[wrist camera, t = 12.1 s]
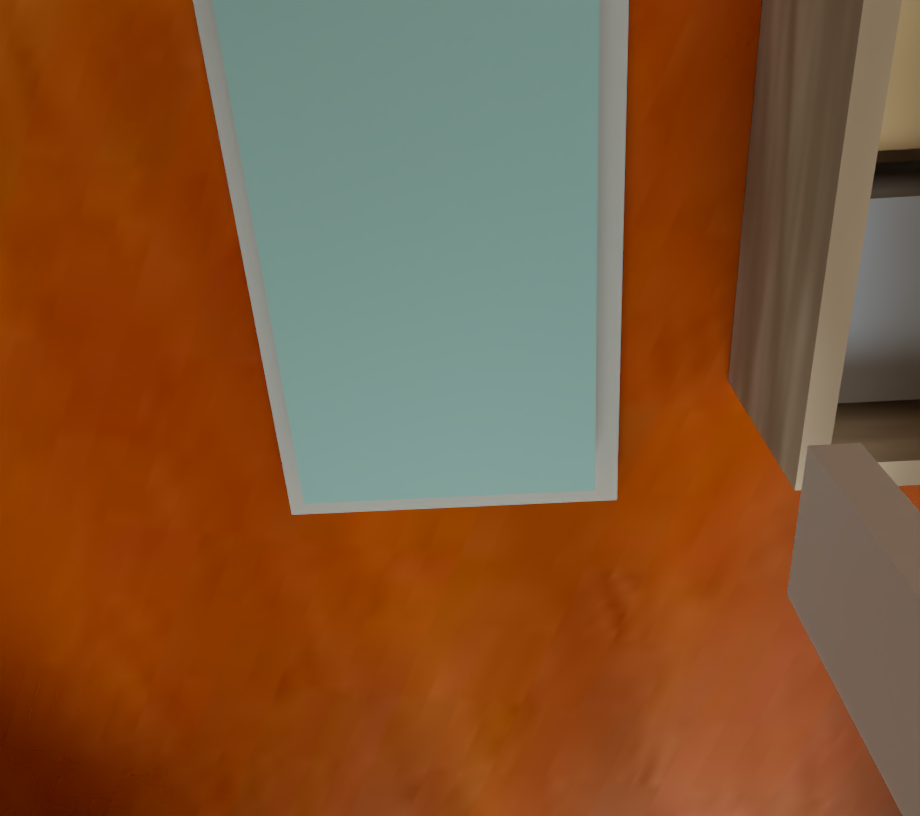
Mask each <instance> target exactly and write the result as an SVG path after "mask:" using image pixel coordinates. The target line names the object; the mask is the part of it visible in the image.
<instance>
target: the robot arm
mask: <svg viewBox="0 0 920 816" xmlns="http://www.w3.org/2000/svg"><path fill="white" fill-rule="evenodd" d="M787 596H788V597H789V599H790V601H791V603H792V605H793V607H794V609H795V611H796V613H797V615H798V617H799V619H800V620H801V622H802V624H803V626H804V628H805V630H806V632H807V634H808V636H809V638H810V640H811V642H812V643H813V645H814V647H815V649H816V651H817V653H818V655H819V657H820V659H821V661H822V663H823V665H824V666H825V668H826V670H827V672H828V674H829V676H830V678H831V680H832V682H833V684H834V686H835V688H836V689H837V691H838V693H839V695H840V697H841V699H842V701H843V703H844V705H845V707H846V709H847V711H848V712H849V714H850V716H851V718H852V720H853V722H854V724H855V726H856V728H857V730H858V732H859V734H860V735H861V737H862V739H863V741H864V743H865V745H866V747H867V749H868V751H869V753H870V755H871V757H872V758H873V760H874V762H875V764H876V766H877V768H878V770H879V772H880V774H881V776H882V778H883V780H884V781H885V783H886V785H887V787H888V789H889V791H890V793H891V795H892V797H893V799H894V801H895V803H896V804H897V806H898V808H899V810H900V812H901V814H902V816H920V511H919V510H918V509H917V508H916V507H915V506H914V504H913V503H912V502H911V501H910V500H909V499H908V497H907V496H906V495H905V494H904V493H903V492H902V490H901V489H900V488H899V487H898V486H897V485H896V483H895V482H894V481H893V480H892V479H891V478H890V476H889V475H888V474H887V473H886V472H885V471H884V469H883V468H882V467H881V466H880V465H879V463H878V462H877V461H876V460H875V459H874V458H873V456H872V455H871V454H870V453H869V452H868V451H867V449H866V448H865V447H864V446H863V445H862V444H861V443H847V444H828V445H809V446H807V454H806V461H805V468H804V475H803V482H802V490H801V497H800V504H799V511H798V518H797V526H796V533H795V540H794V547H793V555H792V562H791V569H790V576H789V583H788V591H787Z"/></svg>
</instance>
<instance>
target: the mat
mask: <svg viewBox="0 0 920 816" xmlns="http://www.w3.org/2000/svg"><path fill="white" fill-rule="evenodd" d="M193 4H194V9H195V15H196V20H197V25H198V30H199V35H200V41H201V46H202V51H203V56H204V61H205V66H206V72H207V77H208V82H209V87H210V92H211V98H212V103H213V108H214V113H215V118H216V124H217V129H218V134H219V139H220V144H221V150H222V155H223V160H224V165H225V170H226V175H227V181H228V186H229V191H230V196H231V201H232V207H233V212H234V217H235V222H236V227H237V233H238V238H239V243H240V248H241V253H242V259H243V264H244V269H245V274H246V279H247V285H248V290H249V295H250V300H251V305H252V310H253V316H254V321H255V326H256V331H257V336H258V342H259V347H260V352H261V357H262V362H263V368H264V373H265V378H266V383H267V388H268V394H269V399H270V404H271V409H272V414H273V419H274V425H275V430H276V435H277V440H278V445H279V451H280V456H281V461H282V466H283V471H284V477H285V482H286V487H287V492H288V497H289V503H290V508H291V513H292V515H298V514H320V513H342V512H363V511H385V510H407V509H429V508H451V507H473V506H495V505H517V504H539V503H561V502H583V501H604V500H617V477H618V435H619V394H620V352H621V310H622V269H623V227H624V185H625V144H626V102H627V61H628V19H629V0H600V4H599V111H598V218H597V325H596V432H595V490H590V491H568V492H547V493H525V494H503V495H482V496H460V497H439V498H417V499H395V500H374V501H352V502H331V503H309V504H304V500H303V495H302V489H301V484H300V478H299V473H298V468H297V462H296V457H295V451H294V446H293V440H292V435H291V429H290V424H289V418H288V413H287V407H286V402H285V397H284V391H283V386H282V380H281V375H280V369H279V364H278V358H277V353H276V347H275V342H274V337H273V331H272V326H271V320H270V315H269V309H268V304H267V298H266V293H265V287H264V282H263V276H262V271H261V266H260V260H259V255H258V249H257V244H256V238H255V233H254V227H253V222H252V216H251V211H250V205H249V200H248V195H247V189H246V184H245V178H244V173H243V167H242V162H241V156H240V151H239V145H238V140H237V135H236V129H235V124H234V118H233V113H232V107H231V102H230V96H229V91H228V85H227V80H226V74H225V69H224V64H223V58H222V53H221V47H220V42H219V36H218V31H217V25H216V20H215V14H214V9H213V3H212V0H193Z"/></svg>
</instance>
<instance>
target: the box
mask: <svg viewBox="0 0 920 816" xmlns="http://www.w3.org/2000/svg"><path fill="white" fill-rule="evenodd" d="M728 382H729V384H730V385H731V387H732V389H733V390H734V392H735V393H736V395H737V397H738V398H739V400H740V402H741V403H742V405H743V406H744V408H745V410H746V411H747V413H748V415H749V416H750V418H751V420H752V421H753V423H754V424H755V426H756V428H757V429H758V431H759V433H760V434H761V436H762V438H763V439H764V441H765V442H766V444H767V446H768V447H769V449H770V451H771V452H772V454H773V456H774V457H775V459H776V460H777V462H778V464H779V465H780V467H781V469H782V470H783V472H784V474H785V475H786V477H787V478H788V480H789V482H790V483H791V485H792V487H793V488H794V490H802V482H803V475H804V468H805V461H806V454H807V446H809V445H828V444H847V443H861V444H862V445H863V446H864V447H865V448H866V449H867V451H868V452H869V453H870V454H871V455H872V456H873V458H874V459H875V460H876V461H877V462H878V463H879V465H880V466H881V467H882V468H883V469H884V471H885V472H886V473H887V474H888V475H889V476H890V478H891V479H892V480H893V481H894V482H895V483H896V485H897V486H902V485H920V0H762V11H761V22H760V34H759V45H758V56H757V67H756V78H755V89H754V100H753V111H752V122H751V133H750V144H749V155H748V166H747V177H746V189H745V200H744V211H743V222H742V233H741V244H740V255H739V266H738V277H737V288H736V299H735V310H734V321H733V332H732V343H731V355H730V366H729V377H728Z"/></svg>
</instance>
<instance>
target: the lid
mask: <svg viewBox="0 0 920 816" xmlns="http://www.w3.org/2000/svg"><path fill="white" fill-rule="evenodd" d="M212 3H213V9H214V14H215V20H216V25H217V31H218V36H219V42H220V47H221V53H222V58H223V64H224V69H225V74H226V80H227V85H228V91H229V96H230V102H231V107H232V113H233V118H234V124H235V129H236V135H237V140H238V145H239V151H240V156H241V162H242V167H243V173H244V178H245V184H246V189H247V195H248V200H249V205H250V211H251V216H252V222H253V227H254V233H255V238H256V244H257V249H258V255H259V260H260V266H261V271H262V276H263V282H264V287H265V293H266V298H267V304H268V309H269V315H270V320H271V326H272V331H273V337H274V342H275V347H276V353H277V358H278V364H279V369H280V375H281V380H282V386H283V391H284V397H285V402H286V407H287V413H288V418H289V424H290V429H291V435H292V440H293V446H294V451H295V457H296V462H297V468H298V473H299V478H300V484H301V489H302V495H303V500H304V504H309V503H331V502H352V501H374V500H395V499H417V498H439V497H460V496H482V495H503V494H525V493H547V492H568V491H590V490H595V432H596V325H597V218H598V111H599V4H600V0H212Z"/></svg>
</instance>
